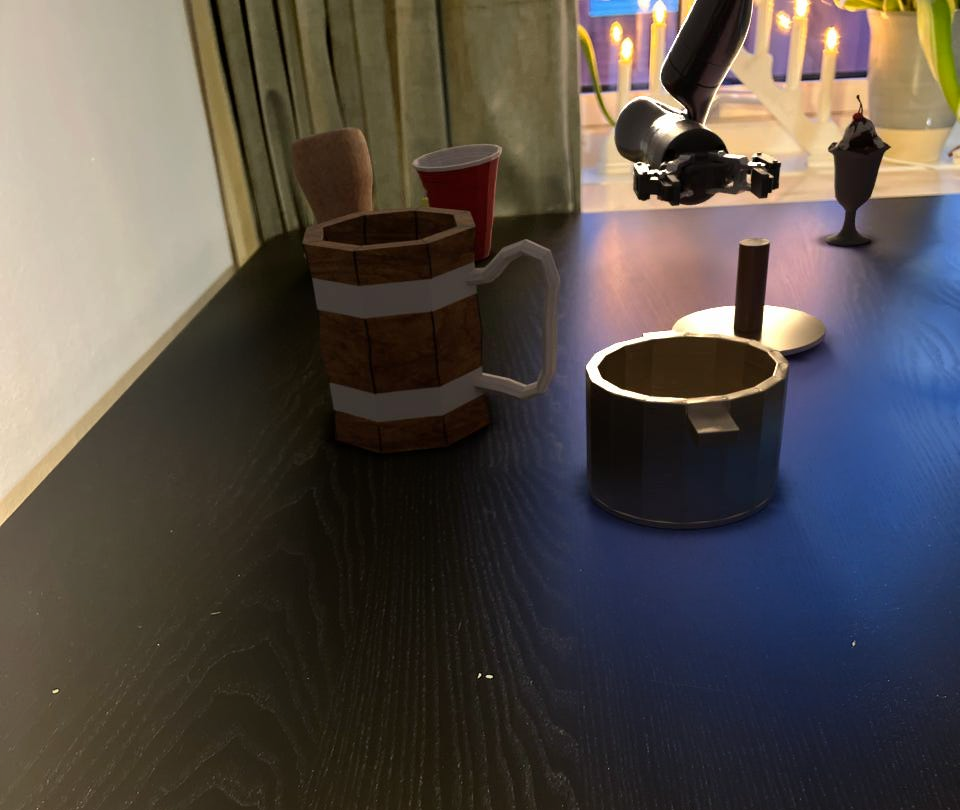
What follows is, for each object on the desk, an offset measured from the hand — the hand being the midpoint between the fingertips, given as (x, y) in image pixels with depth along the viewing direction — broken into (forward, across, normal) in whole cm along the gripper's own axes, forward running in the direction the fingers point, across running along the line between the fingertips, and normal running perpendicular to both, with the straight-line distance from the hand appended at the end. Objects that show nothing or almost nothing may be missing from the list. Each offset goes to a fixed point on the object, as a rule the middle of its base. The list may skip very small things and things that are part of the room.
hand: (721, 190), depth 94 cm
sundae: (-19, +20, +11) cm, 29 cm away
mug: (+25, -28, +11) cm, 39 cm away
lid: (+12, 0, +10) cm, 16 cm away
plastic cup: (-27, -25, +11) cm, 38 cm away
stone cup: (-32, -40, +11) cm, 52 cm away
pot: (+40, -12, +10) cm, 43 cm away
